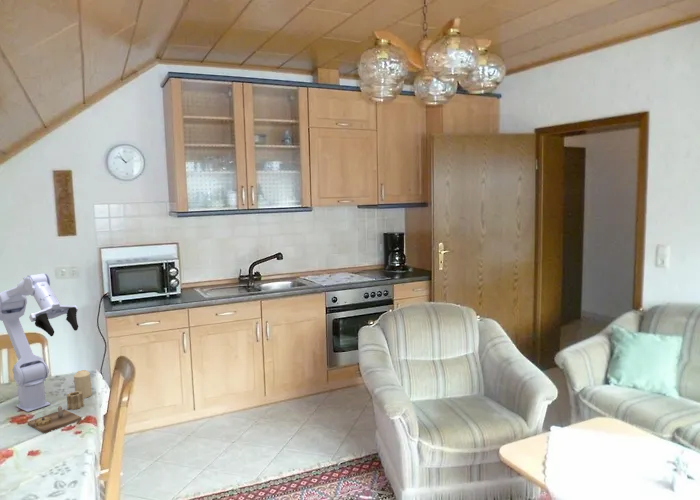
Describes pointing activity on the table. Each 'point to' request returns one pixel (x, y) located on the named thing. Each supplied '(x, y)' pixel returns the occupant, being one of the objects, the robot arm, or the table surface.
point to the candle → (83, 383)
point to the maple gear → (75, 400)
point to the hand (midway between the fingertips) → (64, 331)
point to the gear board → (54, 420)
